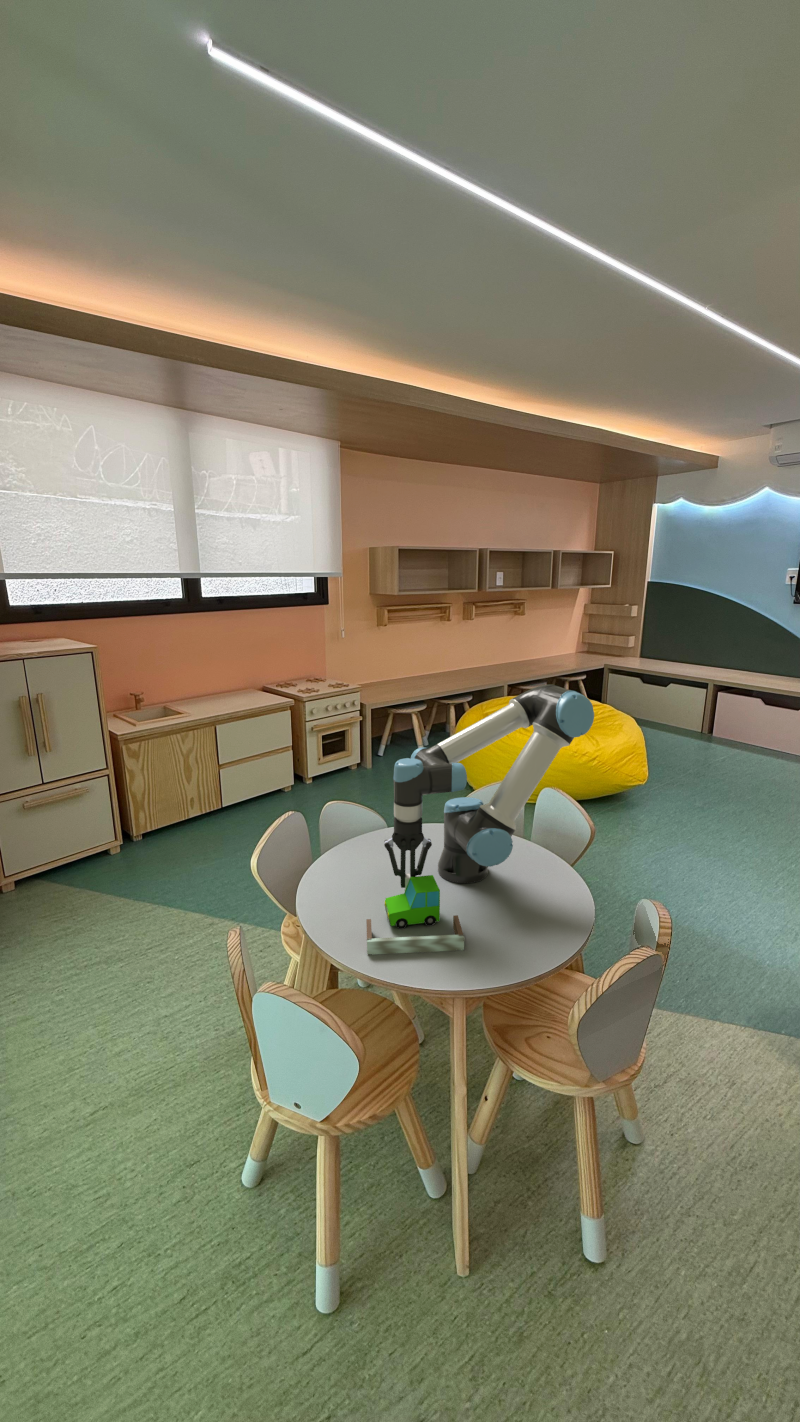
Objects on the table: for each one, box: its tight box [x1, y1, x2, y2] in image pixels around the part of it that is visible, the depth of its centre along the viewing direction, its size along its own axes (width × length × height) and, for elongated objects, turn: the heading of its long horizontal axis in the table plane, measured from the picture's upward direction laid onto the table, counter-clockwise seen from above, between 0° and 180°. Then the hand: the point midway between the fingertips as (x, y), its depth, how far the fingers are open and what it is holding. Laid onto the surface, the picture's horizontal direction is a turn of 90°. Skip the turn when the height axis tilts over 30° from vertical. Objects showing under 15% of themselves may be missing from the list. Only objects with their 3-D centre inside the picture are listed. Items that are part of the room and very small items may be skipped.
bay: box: [366, 914, 465, 955], centre depth 151 cm, size 23×10×4 cm, turn 94°
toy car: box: [384, 874, 441, 930], centre depth 159 cm, size 10×13×10 cm
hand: (407, 897), depth 166 cm, fingers closed
